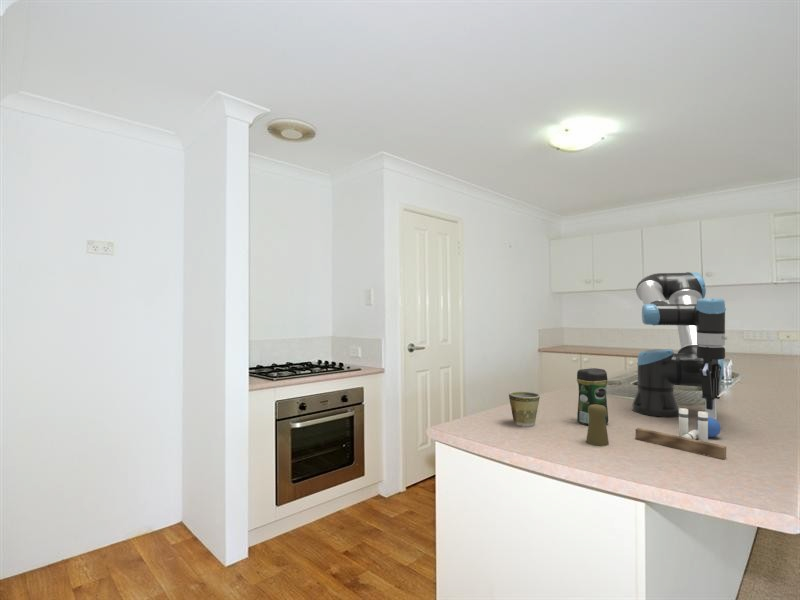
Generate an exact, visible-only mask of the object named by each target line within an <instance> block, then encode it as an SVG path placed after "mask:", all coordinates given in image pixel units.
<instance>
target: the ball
mask: <svg viewBox="0 0 800 600" xmlns="http://www.w3.org/2000/svg"><path fill="white" fill-rule="evenodd" d="M696 428H697V429H696V430H698V421H697V422H696ZM721 429H722V426H721V424H720V422H719V421H718V420H717V419H716V420H715V419H714V418H711V417H708V438H715V437H717V436H718V435H719V434H721Z"/></svg>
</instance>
